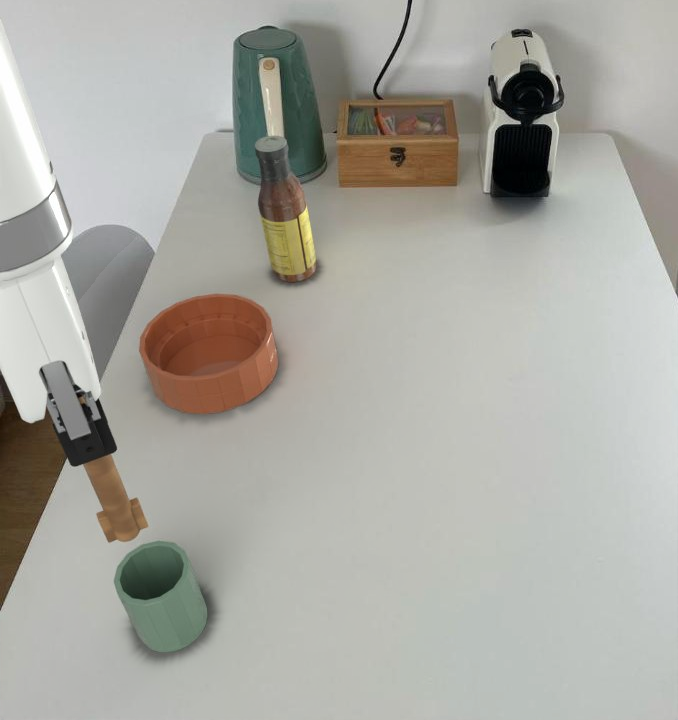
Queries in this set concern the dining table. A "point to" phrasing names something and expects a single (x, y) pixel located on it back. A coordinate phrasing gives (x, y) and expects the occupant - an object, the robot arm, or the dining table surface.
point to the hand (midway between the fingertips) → (89, 442)
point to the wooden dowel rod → (114, 500)
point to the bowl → (209, 353)
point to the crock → (161, 596)
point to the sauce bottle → (284, 213)
